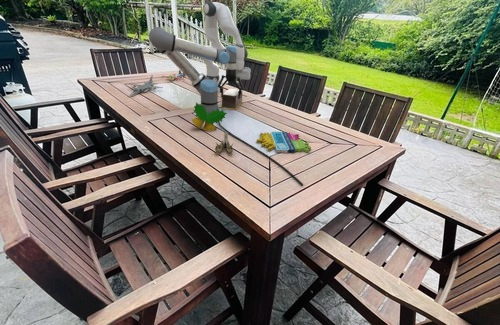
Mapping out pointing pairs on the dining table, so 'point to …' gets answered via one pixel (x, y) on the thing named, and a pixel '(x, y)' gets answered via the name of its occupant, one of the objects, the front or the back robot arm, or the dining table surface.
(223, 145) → the jawbone
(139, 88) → the airplane
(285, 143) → the multicolored flat piece
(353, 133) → the dining table surface
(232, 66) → the front robot arm
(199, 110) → the ornament
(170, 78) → the toy
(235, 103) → the brown-grey rectangular block
